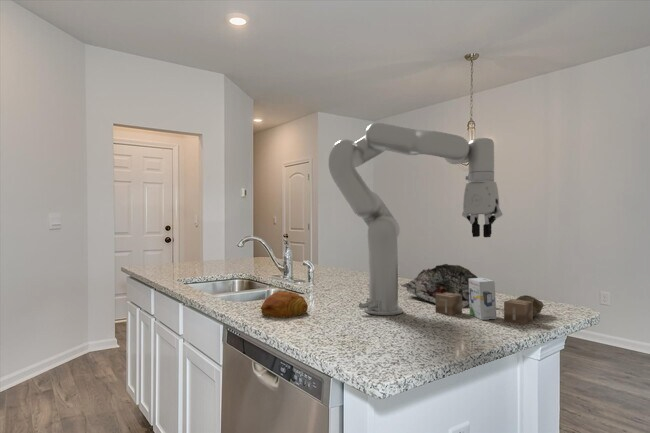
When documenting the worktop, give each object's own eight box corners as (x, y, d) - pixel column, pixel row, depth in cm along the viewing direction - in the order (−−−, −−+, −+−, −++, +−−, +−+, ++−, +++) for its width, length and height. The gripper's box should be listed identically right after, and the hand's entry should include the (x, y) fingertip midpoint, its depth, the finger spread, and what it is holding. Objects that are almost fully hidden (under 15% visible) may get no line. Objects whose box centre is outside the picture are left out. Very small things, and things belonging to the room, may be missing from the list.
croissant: (280, 313, 147) (278, 290, 148) (315, 312, 138) (313, 288, 139) (250, 320, 135) (248, 295, 136) (286, 320, 126) (284, 293, 127)
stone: (513, 304, 141) (529, 287, 137) (533, 321, 136) (550, 304, 133) (499, 310, 131) (515, 293, 128) (520, 329, 127) (537, 312, 124)
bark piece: (493, 290, 149) (434, 268, 175) (485, 273, 146) (426, 253, 171) (460, 326, 144) (404, 298, 170) (451, 310, 140) (396, 284, 166)
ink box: (496, 320, 126) (496, 281, 126) (480, 320, 126) (480, 281, 126) (483, 313, 135) (483, 277, 135) (468, 313, 135) (467, 277, 135)
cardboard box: (451, 316, 132) (451, 296, 132) (435, 312, 137) (435, 294, 137) (462, 313, 136) (462, 294, 136) (446, 310, 141) (446, 292, 141)
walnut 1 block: (524, 325, 120) (524, 304, 120) (504, 321, 125) (503, 301, 125) (532, 321, 124) (532, 301, 124) (512, 318, 129) (512, 298, 129)
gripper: (451, 179, 135) (451, 236, 135) (500, 175, 122) (500, 238, 122) (464, 180, 139) (464, 235, 139) (512, 177, 127) (513, 237, 127)
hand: (481, 236), depth 131 cm, fingers open, 3 cm apart
